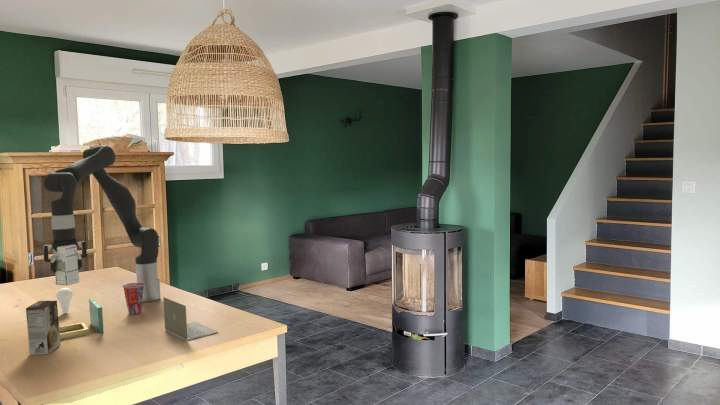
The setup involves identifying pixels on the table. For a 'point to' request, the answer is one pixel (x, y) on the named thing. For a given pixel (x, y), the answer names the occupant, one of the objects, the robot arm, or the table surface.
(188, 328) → the laptop
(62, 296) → the lightbulb
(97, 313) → the tan and teal pieces
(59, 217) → the robot arm
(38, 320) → the coffee box
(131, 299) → the cup
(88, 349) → the table surface
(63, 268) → the syrup box
